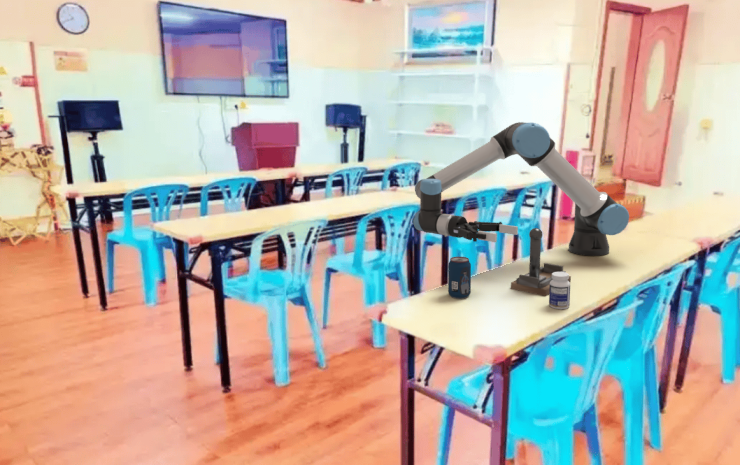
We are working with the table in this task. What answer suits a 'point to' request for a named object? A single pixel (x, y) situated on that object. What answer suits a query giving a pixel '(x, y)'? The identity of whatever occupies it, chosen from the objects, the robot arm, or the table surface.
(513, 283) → the press base
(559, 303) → the pill bottle
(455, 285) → the soda can
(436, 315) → the table surface
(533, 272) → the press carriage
